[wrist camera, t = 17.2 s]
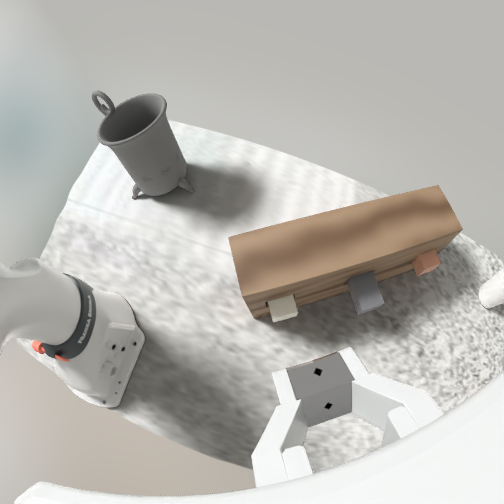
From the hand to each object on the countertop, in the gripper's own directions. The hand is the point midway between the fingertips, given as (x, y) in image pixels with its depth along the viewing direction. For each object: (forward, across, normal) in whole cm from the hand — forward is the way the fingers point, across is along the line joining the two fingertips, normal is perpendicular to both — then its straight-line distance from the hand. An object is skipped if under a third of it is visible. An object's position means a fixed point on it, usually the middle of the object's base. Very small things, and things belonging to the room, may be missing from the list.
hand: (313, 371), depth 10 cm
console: (+34, -14, +15) cm, 40 cm away
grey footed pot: (+57, +14, -6) cm, 59 cm away
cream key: (+28, -2, +14) cm, 31 cm away
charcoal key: (+26, -14, +16) cm, 33 cm away
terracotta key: (+27, -26, +14) cm, 40 cm away
